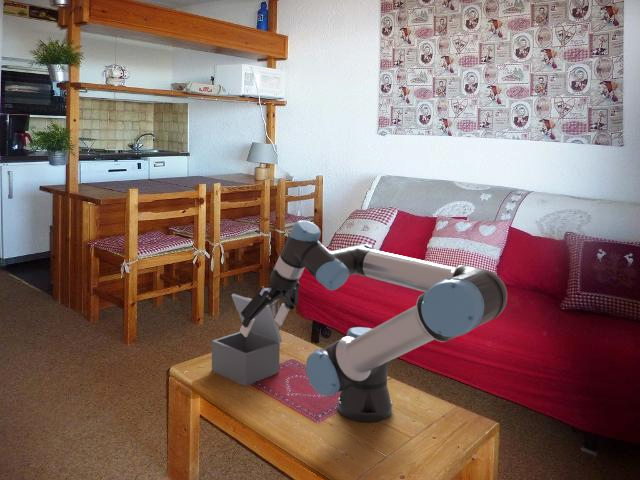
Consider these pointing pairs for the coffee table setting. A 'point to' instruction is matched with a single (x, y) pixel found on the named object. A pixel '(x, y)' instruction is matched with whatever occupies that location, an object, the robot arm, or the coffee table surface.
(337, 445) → the coffee table surface
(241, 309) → the lid
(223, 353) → the block
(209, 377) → the coffee table surface
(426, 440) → the coffee table surface
